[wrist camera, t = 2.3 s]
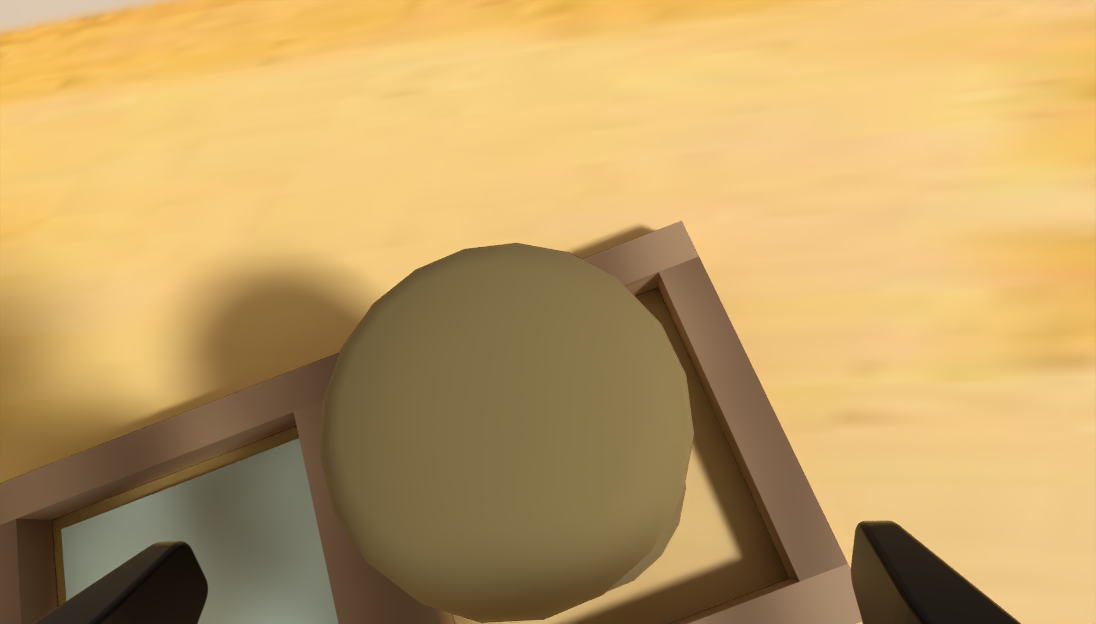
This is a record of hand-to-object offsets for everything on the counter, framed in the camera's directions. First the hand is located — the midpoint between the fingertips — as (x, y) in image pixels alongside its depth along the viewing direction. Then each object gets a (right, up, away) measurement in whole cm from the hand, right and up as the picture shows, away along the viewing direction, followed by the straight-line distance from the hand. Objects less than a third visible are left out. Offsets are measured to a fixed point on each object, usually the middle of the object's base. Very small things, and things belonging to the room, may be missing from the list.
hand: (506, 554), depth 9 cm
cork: (+1, -1, +10) cm, 10 cm away
